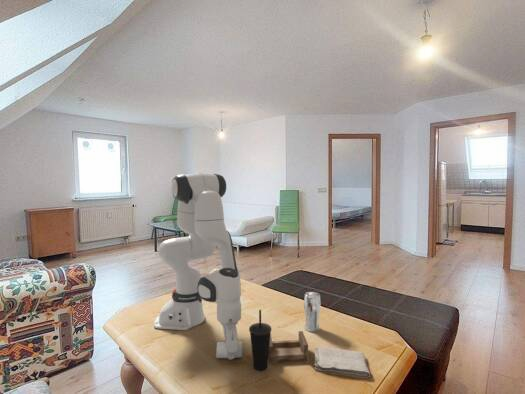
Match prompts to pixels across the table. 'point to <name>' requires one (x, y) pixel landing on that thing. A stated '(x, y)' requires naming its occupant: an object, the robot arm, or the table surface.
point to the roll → (222, 350)
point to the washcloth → (341, 362)
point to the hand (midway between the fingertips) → (229, 350)
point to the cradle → (288, 350)
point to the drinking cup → (260, 344)
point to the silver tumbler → (312, 311)
